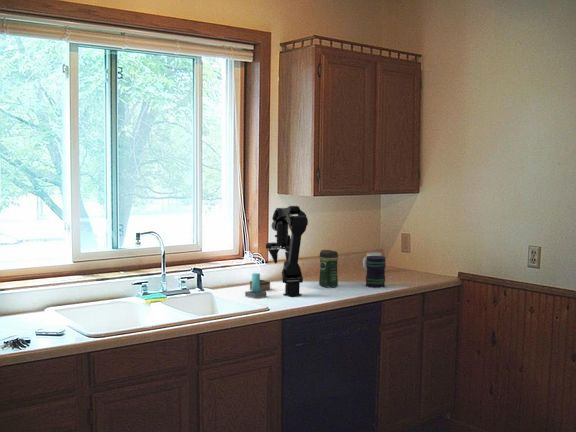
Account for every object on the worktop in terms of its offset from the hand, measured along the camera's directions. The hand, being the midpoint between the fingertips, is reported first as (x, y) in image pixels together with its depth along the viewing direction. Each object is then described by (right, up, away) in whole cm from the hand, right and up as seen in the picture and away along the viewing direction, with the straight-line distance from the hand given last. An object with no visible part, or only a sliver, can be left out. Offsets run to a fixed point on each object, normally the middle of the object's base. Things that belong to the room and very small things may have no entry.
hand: (282, 264), depth 321 cm
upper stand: (-11, -12, -4) cm, 17 cm away
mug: (+51, -9, +53) cm, 74 cm away
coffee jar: (+23, -12, +8) cm, 27 cm away
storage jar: (+48, -12, +10) cm, 50 cm away
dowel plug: (-12, -13, -20) cm, 27 cm away
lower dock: (-12, -13, -20) cm, 27 cm away
